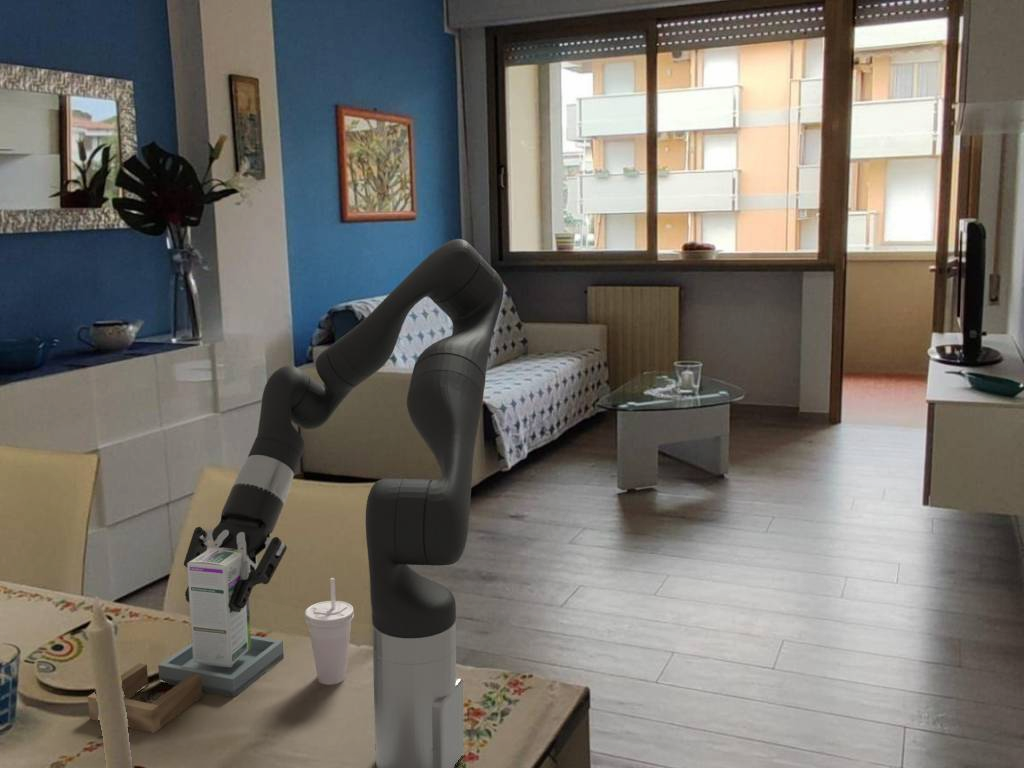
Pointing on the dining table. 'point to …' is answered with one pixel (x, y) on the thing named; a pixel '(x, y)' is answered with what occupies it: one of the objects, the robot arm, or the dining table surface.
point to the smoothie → (330, 637)
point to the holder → (157, 711)
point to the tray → (224, 678)
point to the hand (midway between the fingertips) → (212, 605)
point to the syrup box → (217, 608)
